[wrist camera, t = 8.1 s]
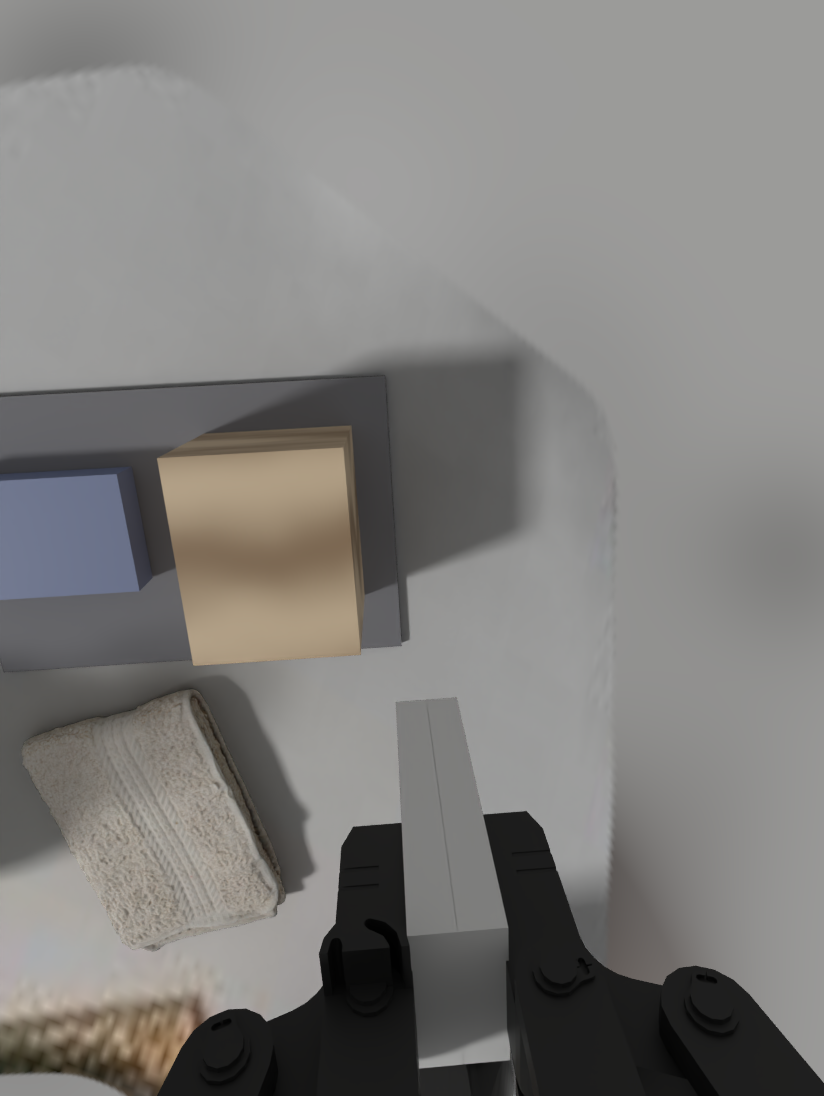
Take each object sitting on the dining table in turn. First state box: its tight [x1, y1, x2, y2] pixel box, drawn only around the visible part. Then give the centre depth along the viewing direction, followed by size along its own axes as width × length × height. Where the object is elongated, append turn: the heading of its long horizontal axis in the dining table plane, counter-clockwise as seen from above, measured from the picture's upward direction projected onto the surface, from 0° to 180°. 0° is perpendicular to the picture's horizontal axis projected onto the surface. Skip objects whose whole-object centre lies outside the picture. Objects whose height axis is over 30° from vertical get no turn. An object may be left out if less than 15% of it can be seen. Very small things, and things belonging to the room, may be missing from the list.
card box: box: [0, 467, 153, 600], centre depth 35 cm, size 6×9×2 cm
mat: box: [0, 376, 402, 672], centre depth 37 cm, size 16×24×1 cm, turn 93°
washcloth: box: [21, 689, 286, 952], centre depth 42 cm, size 12×18×3 cm, turn 17°
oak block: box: [157, 425, 365, 666], centre depth 33 cm, size 10×8×8 cm
